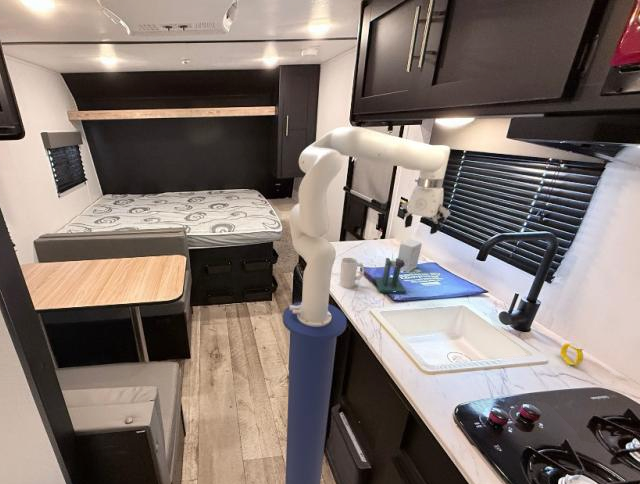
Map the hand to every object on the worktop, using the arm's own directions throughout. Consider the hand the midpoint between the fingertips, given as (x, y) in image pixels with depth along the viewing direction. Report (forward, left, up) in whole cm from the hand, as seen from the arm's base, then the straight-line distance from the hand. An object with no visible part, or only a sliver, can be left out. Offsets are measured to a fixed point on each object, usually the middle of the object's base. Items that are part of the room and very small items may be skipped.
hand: (420, 229), depth 116 cm
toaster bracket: (-5, +8, -29) cm, 30 cm away
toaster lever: (-5, +3, -18) cm, 18 cm away
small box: (+8, +29, -29) cm, 42 cm away
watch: (+35, -34, -29) cm, 57 cm away
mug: (-21, +8, -29) cm, 37 cm away
